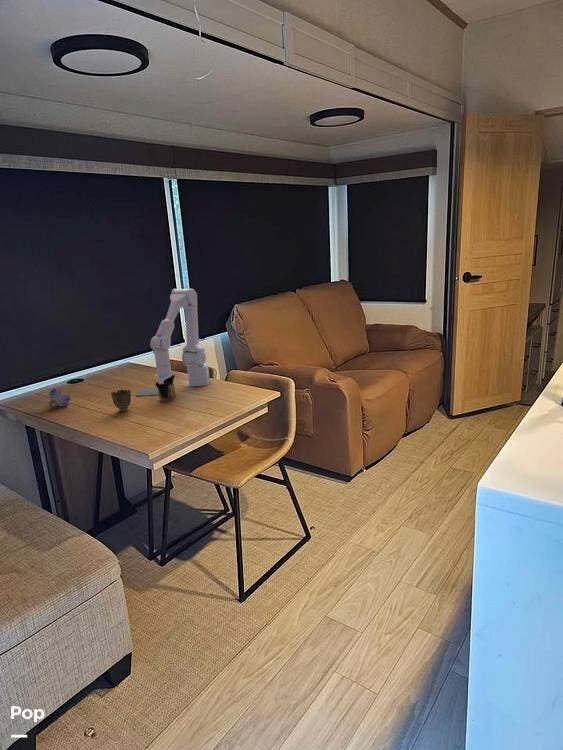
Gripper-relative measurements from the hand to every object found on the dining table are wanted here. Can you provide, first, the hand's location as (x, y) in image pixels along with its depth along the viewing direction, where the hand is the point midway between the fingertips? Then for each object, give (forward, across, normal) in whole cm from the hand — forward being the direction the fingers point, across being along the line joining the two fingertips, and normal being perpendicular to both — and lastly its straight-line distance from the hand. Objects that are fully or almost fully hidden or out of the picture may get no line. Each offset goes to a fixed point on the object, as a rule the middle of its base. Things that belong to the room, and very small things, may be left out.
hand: (167, 395), depth 204 cm
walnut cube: (+2, 0, 0) cm, 2 cm away
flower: (+2, +3, -46) cm, 46 cm away
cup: (+2, +12, -15) cm, 19 cm away
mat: (+2, -11, -10) cm, 15 cm away
